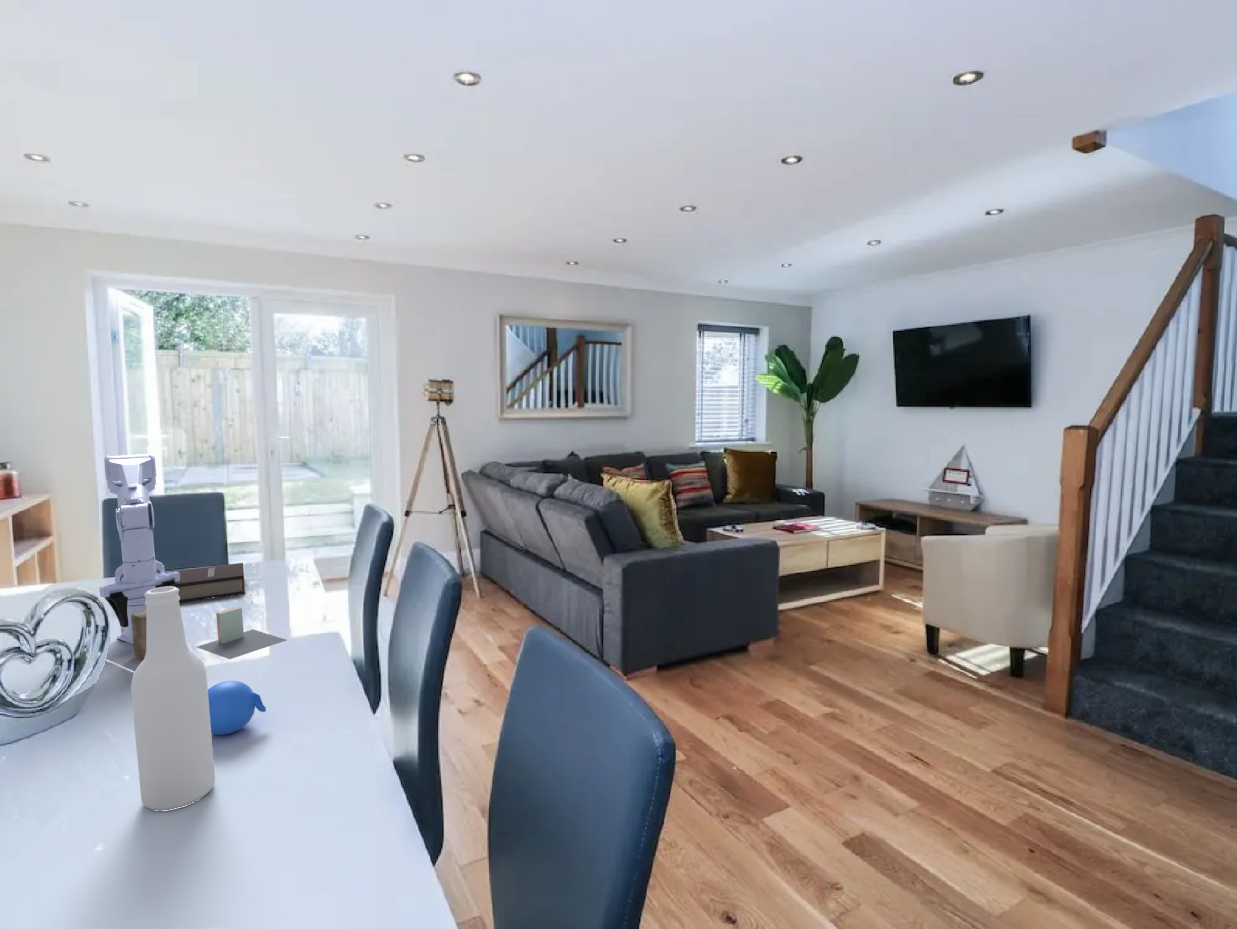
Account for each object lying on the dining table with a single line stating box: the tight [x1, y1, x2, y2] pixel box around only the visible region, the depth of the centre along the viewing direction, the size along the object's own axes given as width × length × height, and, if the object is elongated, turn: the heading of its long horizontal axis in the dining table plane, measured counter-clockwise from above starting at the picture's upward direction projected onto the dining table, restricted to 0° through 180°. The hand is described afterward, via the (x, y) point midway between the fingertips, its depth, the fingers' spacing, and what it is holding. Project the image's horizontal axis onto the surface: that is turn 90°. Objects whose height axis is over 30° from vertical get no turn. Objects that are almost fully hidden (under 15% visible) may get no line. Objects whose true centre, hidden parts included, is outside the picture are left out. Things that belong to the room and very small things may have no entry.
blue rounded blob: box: [208, 680, 267, 736], centre depth 116 cm, size 12×12×8 cm
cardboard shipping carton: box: [131, 610, 147, 661], centre depth 146 cm, size 5×3×10 cm, turn 58°
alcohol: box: [130, 586, 216, 811], centre depth 94 cm, size 9×9×30 cm
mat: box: [196, 629, 287, 660], centre depth 154 cm, size 14×13×1 cm
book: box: [165, 562, 246, 604], centre depth 196 cm, size 28×20×6 cm
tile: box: [216, 606, 245, 644], centre depth 156 cm, size 2×5×7 cm, turn 148°
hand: (144, 621), depth 146 cm, fingers open, 7 cm apart
